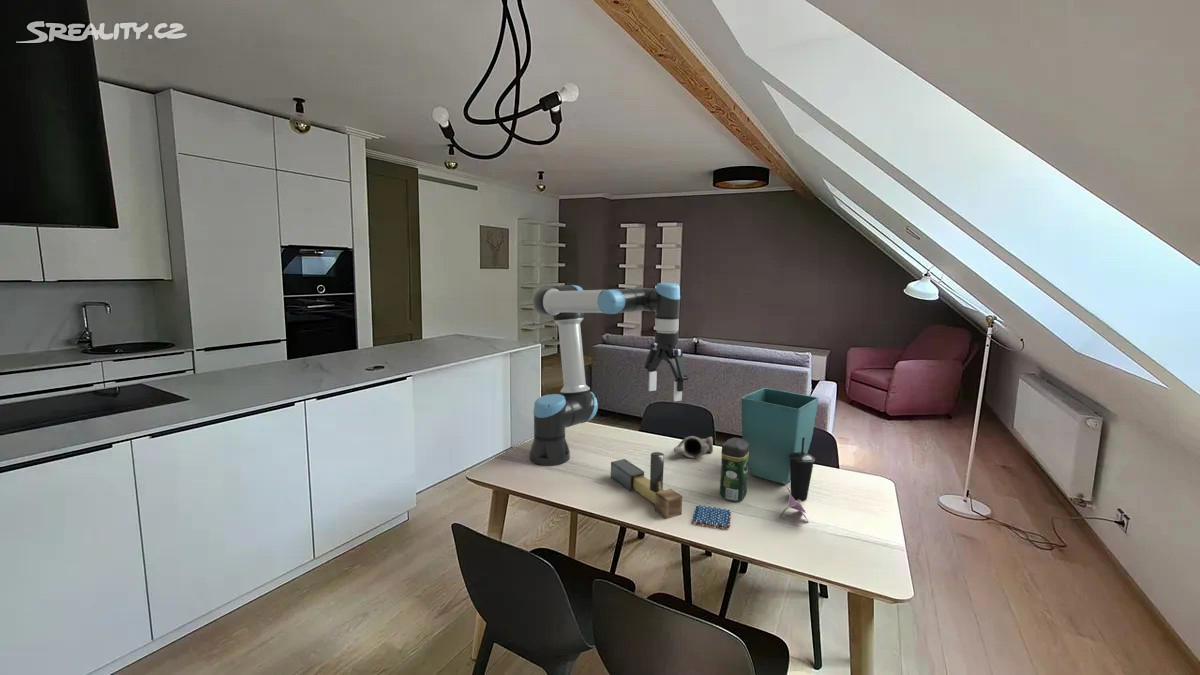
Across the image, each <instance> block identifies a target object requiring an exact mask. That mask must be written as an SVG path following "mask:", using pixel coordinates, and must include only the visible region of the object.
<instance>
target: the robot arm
mask: <svg viewBox="0 0 1200 675" xmlns="http://www.w3.org/2000/svg"><path fill="white" fill-rule="evenodd" d="M680 303H681V288H680V285H679V284H678V283H674V282H658V283H657V284H656V287H655V288H648V287H641V286H636V287H635V286H633V287H630V288H612V289H589V290H585V289H583V288H582V287H581V286H579V285H575V284H565V285H564V284H563V285H560V284H559V285H547V286H543V287H540V288H539V289H538V290H537V291H536V292H535V293H534V295H533V298H532V306H533V308H534V310H535V311H536V313H538V314H539V315H540V316H542V317H545V318H546V317H547V318H548V317H549V318H550V317H552V318H553V323H555V324H556V325H557V326H558V337H559V348H560V349H559V350H560V358H561V367H562V368H561V370H562V379H563V380H562V381H563V386H562V388H561V389H560V394H559V393H552V394H546V395H542V396H540V397H537V399H536V400H535V401H534V404H533V405H534V406H533V431H534V432H533V441H532V443H531V444H532V445H531V447H530V450H529V460H530V462H532V463H533V462H534V463H533V464H535V463H536V465H539V466H558V465H562V464H564V463H566V462H568V461H569V460H570V458H571V453H570V448H569V445H568V442H567V439H566V428H569V427H573V426H575V425H579V424H585V423H587V422H588V421H591V420H592V419H594V417H595V416H596V415H597V412H598V406H599V404H598V400H597V399H598V398H597V397H596V395H595V393H593V392H592V391H591V387H590V386H588V385H587V383H586V374H585V372H586V371H585V361H584V360H585V359H584V352H583V351H584V350H583V340H582V338H583V337H582V332H581V331H582V330H581V322H582V321H583V320H584V319H585V318H584V314H587V313H588V314H590V313H591V314H592V313H593V314H594V313H595V314H606V315H617V314H621V313H634V312H643V311H645V312H655V318H654V320H655V321H654V322H655V324H654V330H655V332H654V343H653V342H652V343H650V350H649V353H648V355H647V358H646V361H645V364H644V369H646V370H647V372H648V374H647V375H648V376H647V377H648V378H647V379H648V392H653V391H657V378H658V371H657V370H658V369H657V368H658V367H659V366H660V364H661V363H662V361H664V362H665V361H666V362H667V364H669V368H670V369H671V372H672V374H673V376H674V378H675V379H674V381H673V402H681V401H682V400H683V399H682V398H683V391H684V382H685V381H688V380H689V375H688V371H687V367H686V364H685V360H684V353H683V352H684V351H683V349H682V348H680V349H679V348H677V349H676V346H677V345H678V344H679V332H678V331H679V330H680V329H679V324H680V322H679V321H680Z"/></svg>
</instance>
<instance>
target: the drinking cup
mask: <svg viewBox="0 0 1200 675" xmlns="http://www.w3.org/2000/svg"><path fill="white" fill-rule="evenodd" d="M804 441H805V438H804V437H803V438H802V449H801V452H795V453H791V454H790V455H789V458H790V481H789V482H790V492H791V495H792V497H793V498H794V499H795V501H797V500H798V502H804V501H806V500H807V499H808V494H809V489H810V483H811V478H812V474H813V469H814V468H813V467H814V463H815V461H816V458H815V457H814V456H813V455H811V454H809V453H804ZM799 500H801V501H799Z"/></svg>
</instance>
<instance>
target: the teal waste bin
mask: <svg viewBox="0 0 1200 675" xmlns="http://www.w3.org/2000/svg"><path fill="white" fill-rule="evenodd" d="M740 402H741V404H740V406H741V436H742V438H741V439H744V440H746V441H747V442H748V444H749V456H748V470H749V472H750V474H751V475H752V476H755V477H758V478H761V479H763V480H764V479H765V480H768V481H770V482H775V483H778V484H782V485H785V484H786V485H787V484H788V483H789V482H790V458H789V455H790V454H791V453H795V452H801V449H802V438H803V437H804V438H805V441H804V453H807V454H809V453H808V452H809V449H810V446H811V443H812V439H813V434H814V428H815V422H816V416H817V412H818V411H817V410H818V403H819V397H817V396H811V395H806V394H802V393H801V394H800V393H797V392H795V393H794V392H792V391H791V392H789V391H784V390H780V389H773V388H767V387H763V388H760V389H758V390H756V391H755V390H754V391H753V392H751V393H748V394H746V395H743V396H742V397H741V399H740ZM784 483H785V484H784Z"/></svg>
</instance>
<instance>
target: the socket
mask: <svg viewBox="0 0 1200 675" xmlns="http://www.w3.org/2000/svg"><path fill="white" fill-rule="evenodd" d="M682 509H683V495H681V494H680V493H678V491H675V490H674V489H672V488H667V489H664V490H663V491H660V492H656V500H655V504H654V511H655V512H657V513H658V514H660V515H661V516H662V518H664V519H666V520H667V519H671V518H674V517H677V516H680V515H681V516H682V511H683V510H682Z"/></svg>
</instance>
